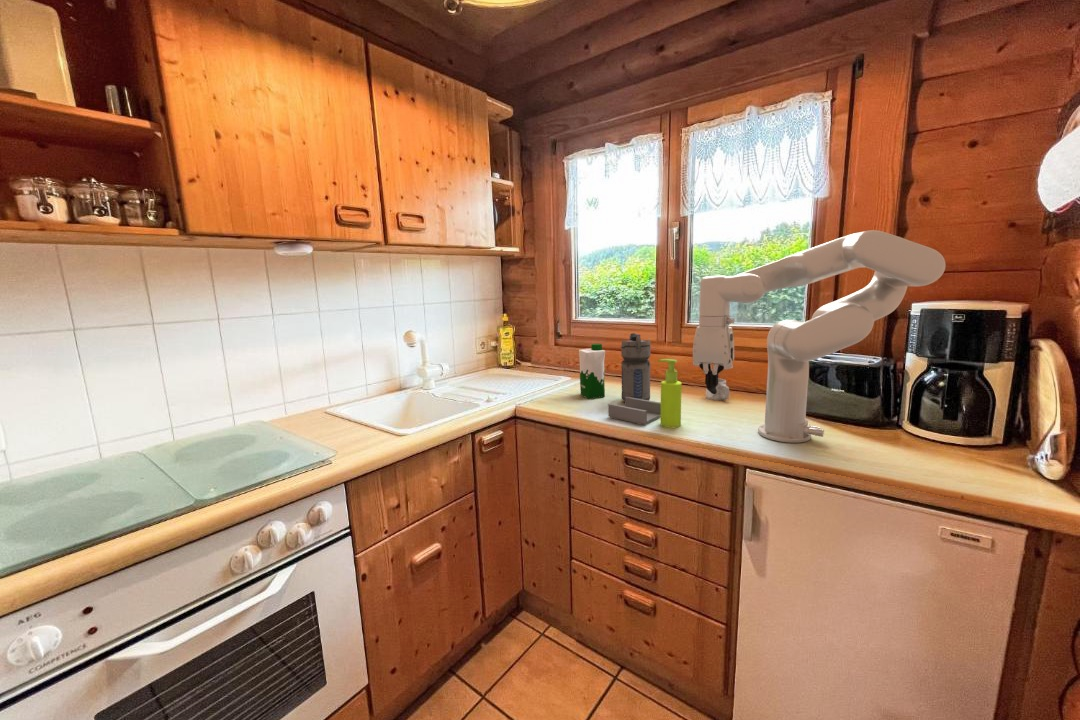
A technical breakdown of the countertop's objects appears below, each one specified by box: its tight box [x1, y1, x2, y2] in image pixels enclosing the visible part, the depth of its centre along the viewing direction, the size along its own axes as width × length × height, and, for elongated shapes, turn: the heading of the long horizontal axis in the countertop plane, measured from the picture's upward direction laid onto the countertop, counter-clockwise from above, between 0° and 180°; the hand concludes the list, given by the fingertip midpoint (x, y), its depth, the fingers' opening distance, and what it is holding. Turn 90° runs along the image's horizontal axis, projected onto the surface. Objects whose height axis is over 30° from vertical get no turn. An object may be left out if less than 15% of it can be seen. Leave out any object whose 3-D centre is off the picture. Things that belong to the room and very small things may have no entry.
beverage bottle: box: [620, 332, 651, 403], centre depth 153 cm, size 10×13×25 cm
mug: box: [705, 377, 730, 401], centre depth 153 cm, size 10×7×7 cm
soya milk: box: [578, 343, 606, 400], centre depth 163 cm, size 9×9×20 cm
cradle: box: [607, 397, 661, 426], centre depth 137 cm, size 13×11×4 cm
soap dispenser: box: [657, 358, 683, 428], centre depth 128 cm, size 6×7×20 cm
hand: (711, 387), depth 119 cm, fingers closed
